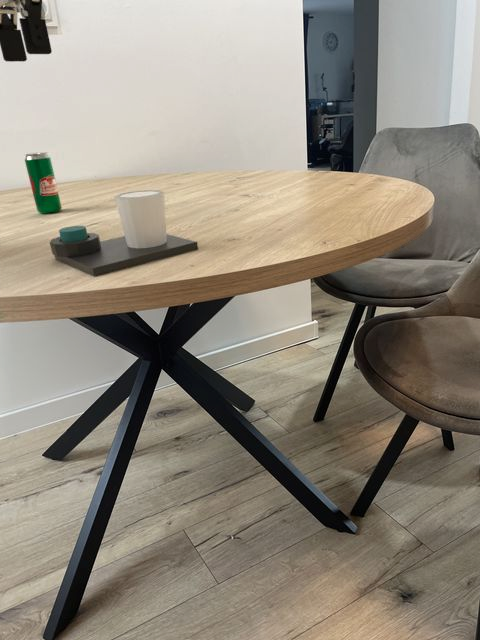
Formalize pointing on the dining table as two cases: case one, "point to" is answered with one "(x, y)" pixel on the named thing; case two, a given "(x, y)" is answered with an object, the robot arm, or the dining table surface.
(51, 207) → the soda can
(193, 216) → the dining table surface
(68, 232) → the button
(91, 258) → the scale
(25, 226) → the dining table surface
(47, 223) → the dining table surface
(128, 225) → the white cup
